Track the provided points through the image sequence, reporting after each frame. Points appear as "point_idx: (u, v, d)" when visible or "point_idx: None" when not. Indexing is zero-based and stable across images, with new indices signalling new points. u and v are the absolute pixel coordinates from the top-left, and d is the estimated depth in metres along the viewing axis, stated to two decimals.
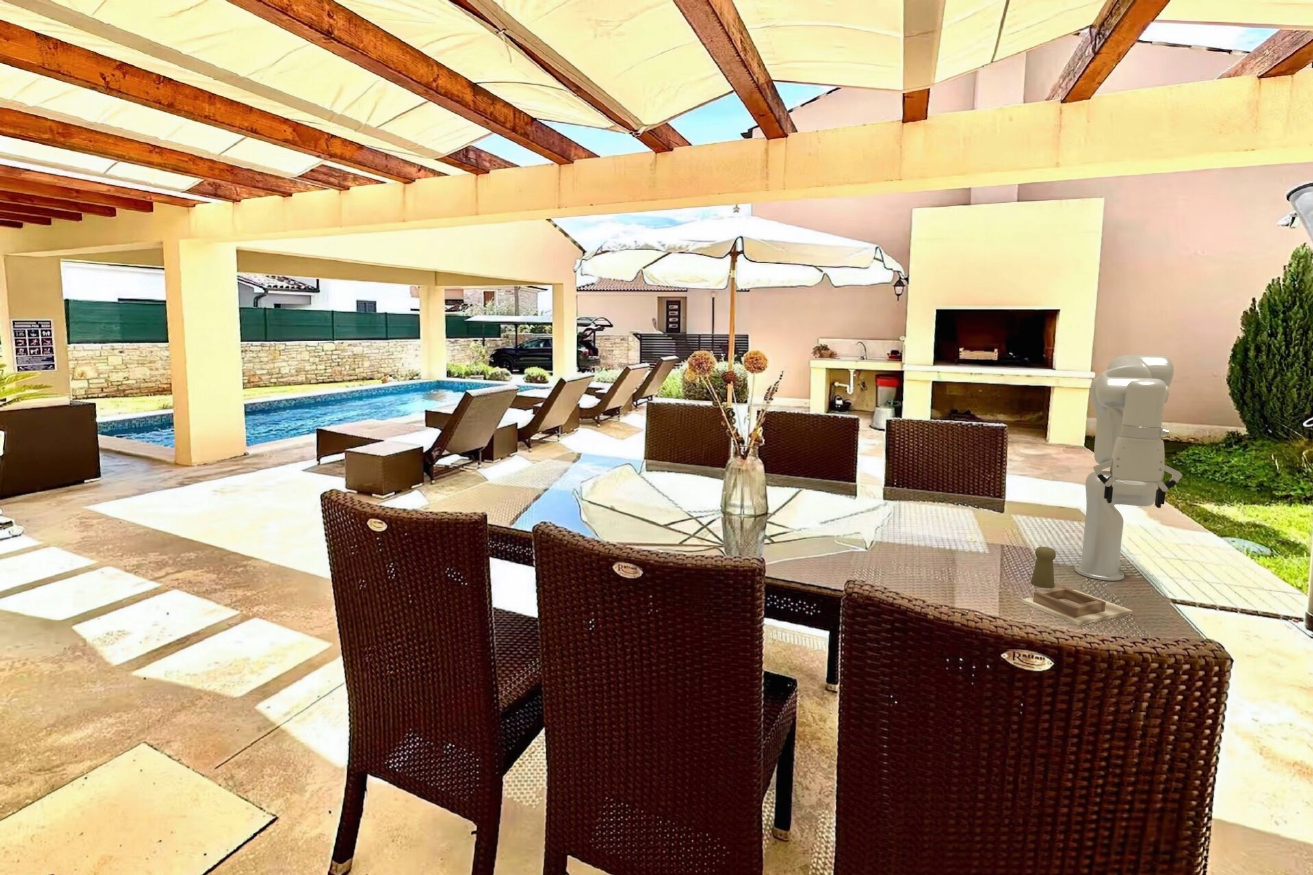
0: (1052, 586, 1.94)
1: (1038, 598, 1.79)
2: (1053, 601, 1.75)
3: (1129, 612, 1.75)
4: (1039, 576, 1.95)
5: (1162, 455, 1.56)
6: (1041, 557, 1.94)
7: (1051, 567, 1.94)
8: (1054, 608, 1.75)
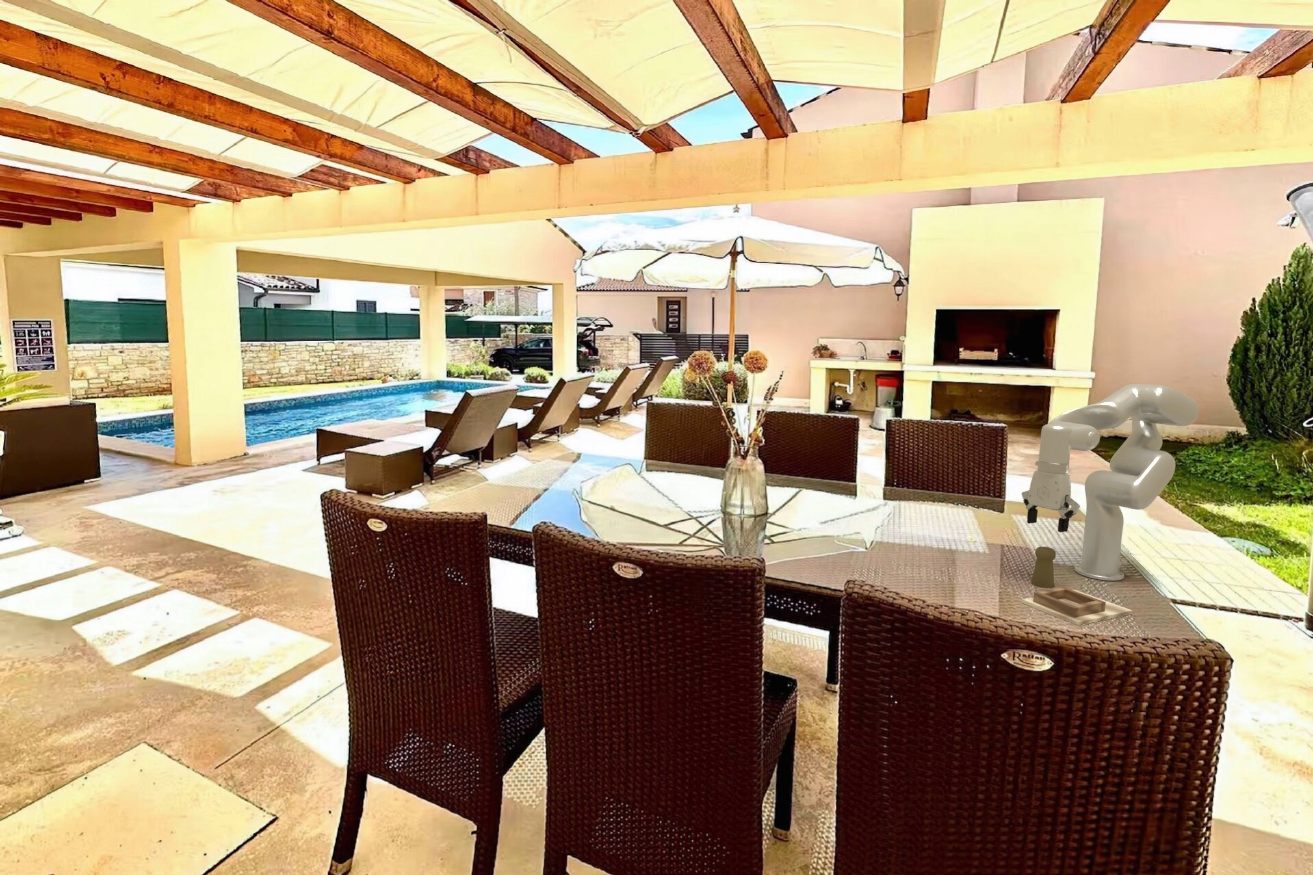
0: (1052, 586, 1.94)
1: (1038, 598, 1.79)
2: (1053, 601, 1.75)
3: (1129, 612, 1.75)
4: (1039, 576, 1.95)
5: None
6: (1041, 557, 1.94)
7: (1051, 567, 1.94)
8: (1054, 608, 1.75)
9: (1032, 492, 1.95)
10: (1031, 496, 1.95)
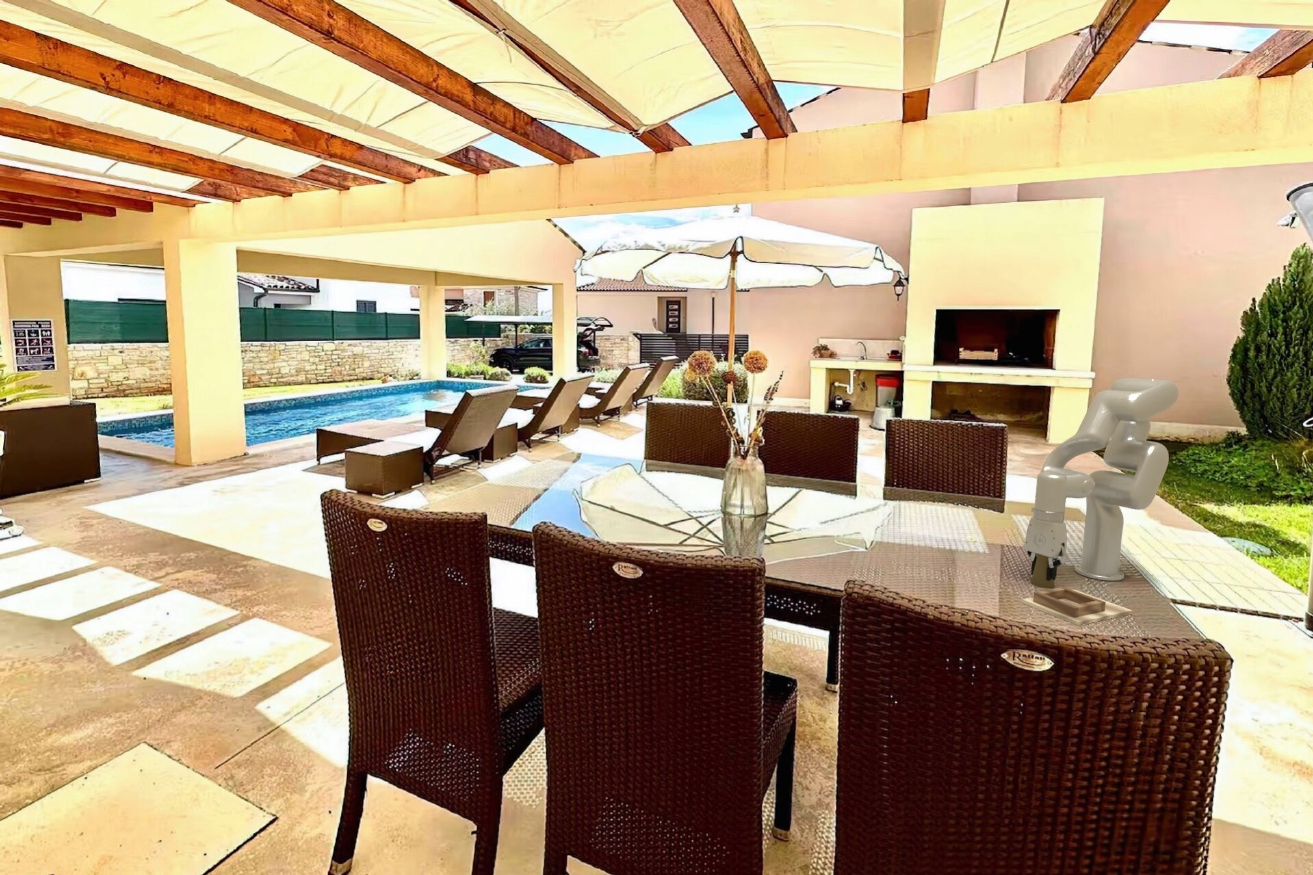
0: (1052, 586, 1.94)
1: (1038, 598, 1.79)
2: (1053, 601, 1.75)
3: (1129, 612, 1.75)
4: (1039, 576, 1.95)
5: None
6: (1041, 557, 1.94)
7: None
8: (1054, 608, 1.75)
9: (1029, 538, 1.97)
10: (1028, 542, 1.97)
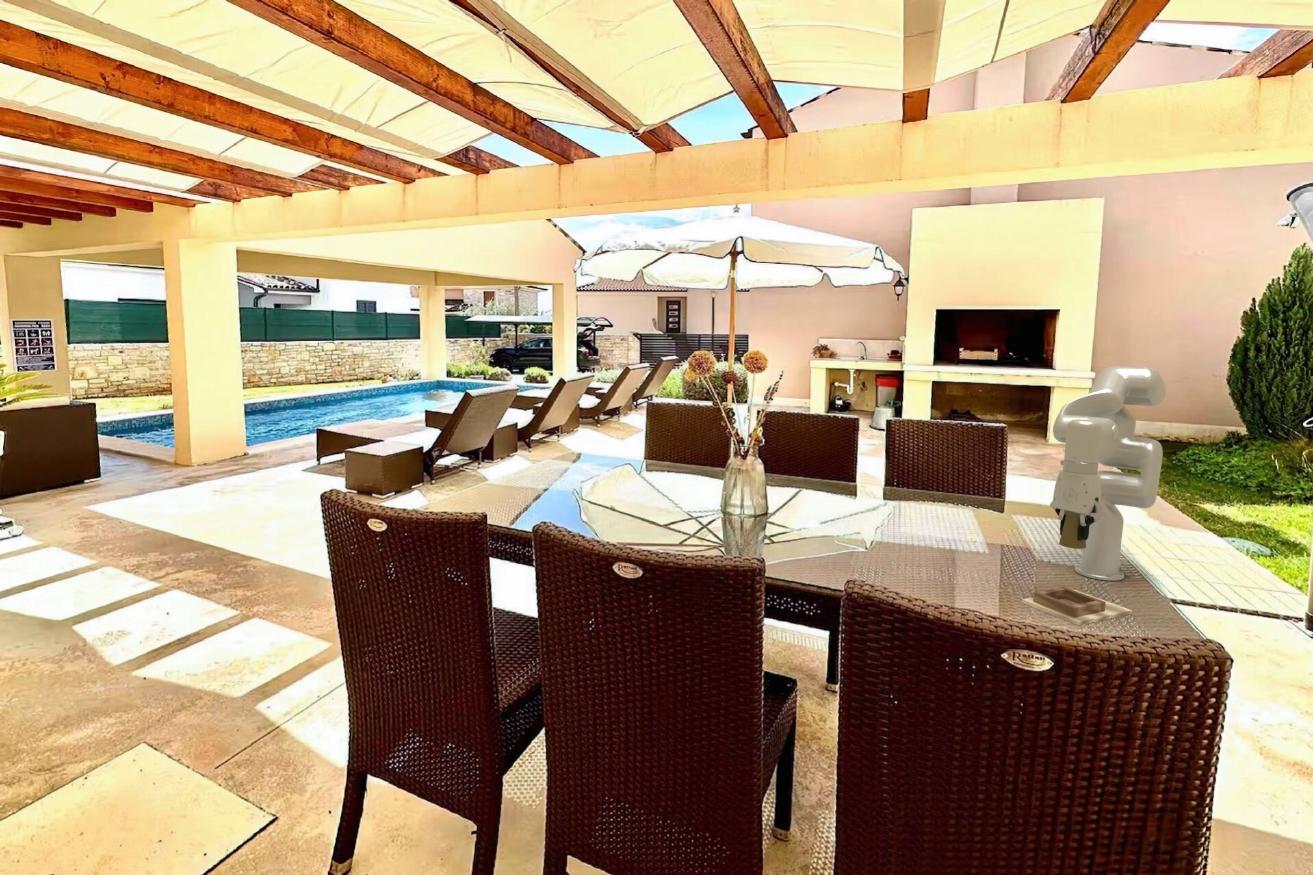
0: (1083, 547, 1.74)
1: (1038, 598, 1.79)
2: (1053, 601, 1.75)
3: (1129, 612, 1.75)
4: (1068, 536, 1.74)
5: None
6: (1071, 514, 1.74)
7: None
8: (1054, 608, 1.75)
9: (1057, 494, 1.77)
10: (1056, 499, 1.77)
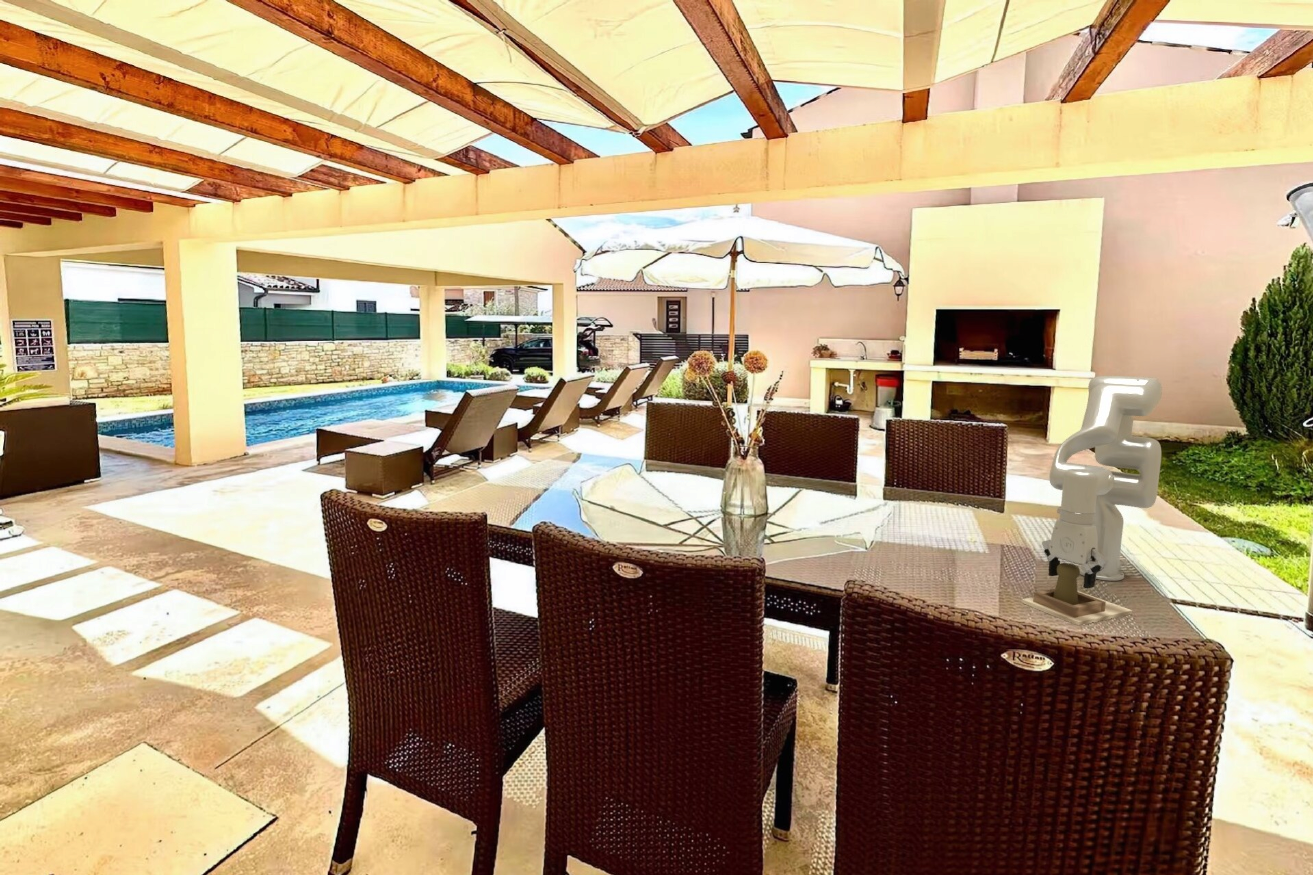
0: None
1: (1038, 598, 1.79)
2: (1053, 601, 1.75)
3: (1129, 612, 1.75)
4: (1061, 596, 1.77)
5: None
6: (1063, 575, 1.76)
7: (1074, 586, 1.76)
8: (1054, 608, 1.75)
9: (1054, 543, 1.78)
10: (1053, 547, 1.78)
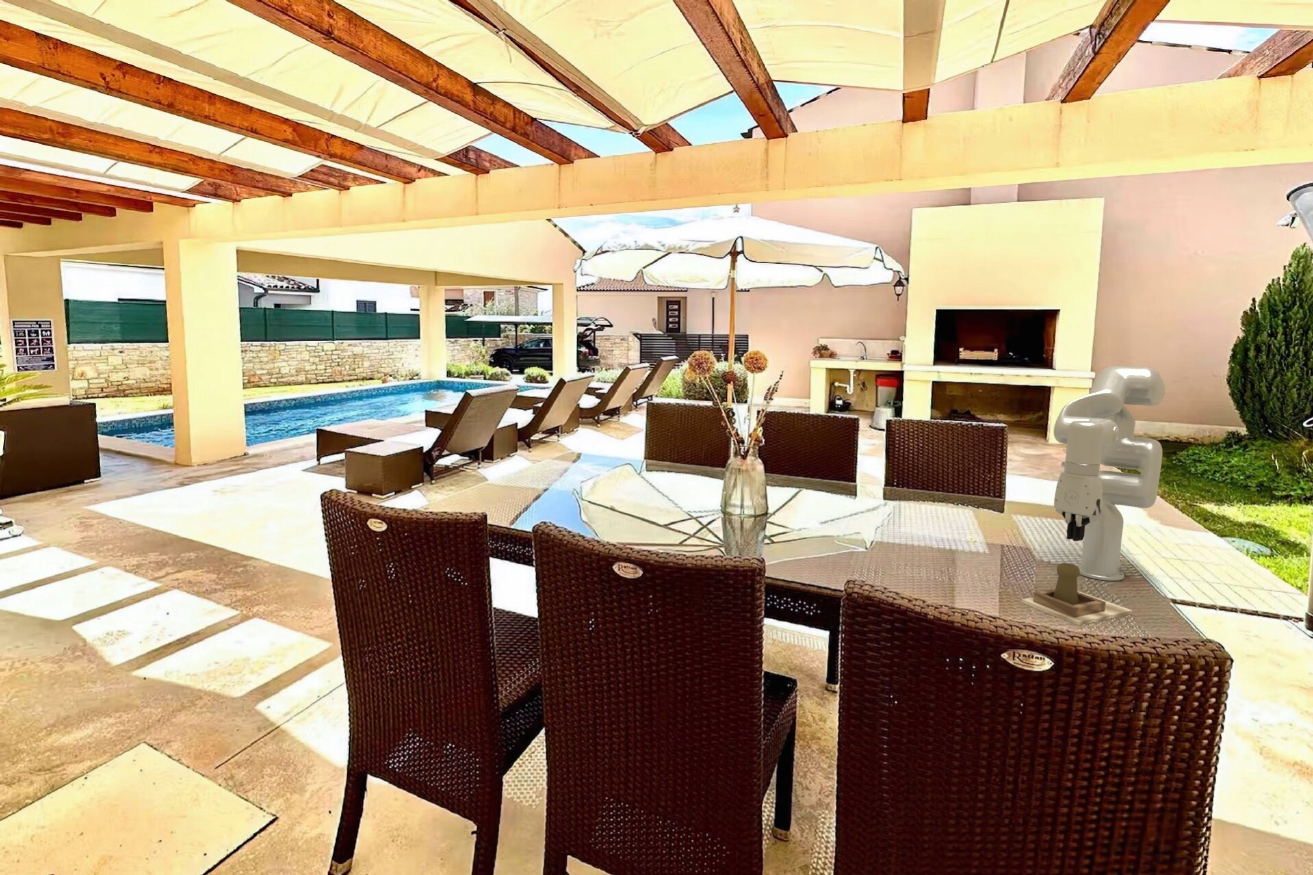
0: None
1: (1038, 598, 1.79)
2: (1053, 601, 1.75)
3: (1129, 612, 1.75)
4: (1061, 596, 1.77)
5: None
6: (1063, 575, 1.76)
7: (1074, 586, 1.76)
8: (1054, 608, 1.75)
9: (1058, 496, 1.76)
10: (1057, 500, 1.76)
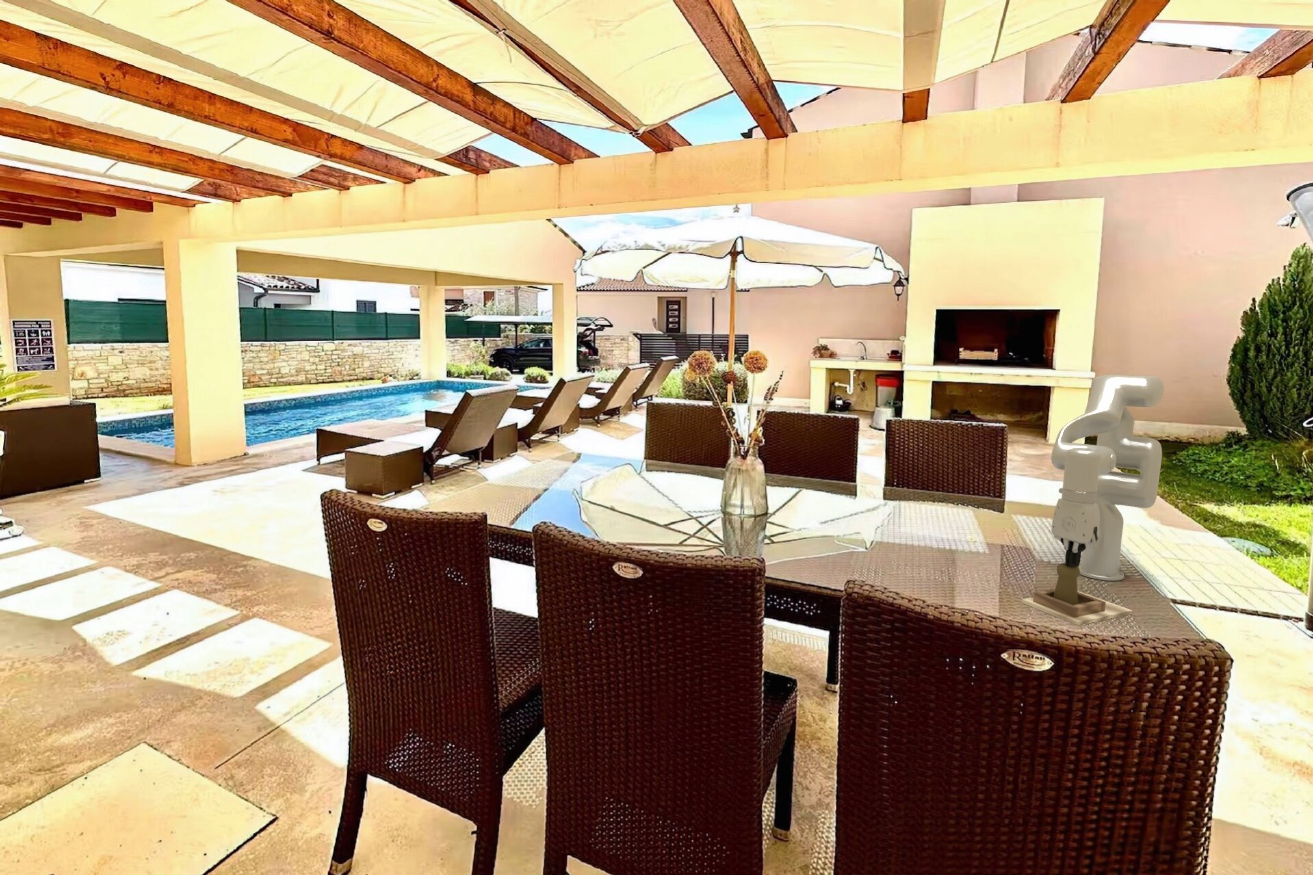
0: None
1: (1038, 598, 1.79)
2: (1053, 601, 1.75)
3: (1129, 612, 1.75)
4: (1061, 596, 1.77)
5: None
6: (1063, 575, 1.76)
7: (1074, 586, 1.76)
8: (1054, 608, 1.75)
9: (1056, 522, 1.77)
10: (1055, 527, 1.77)
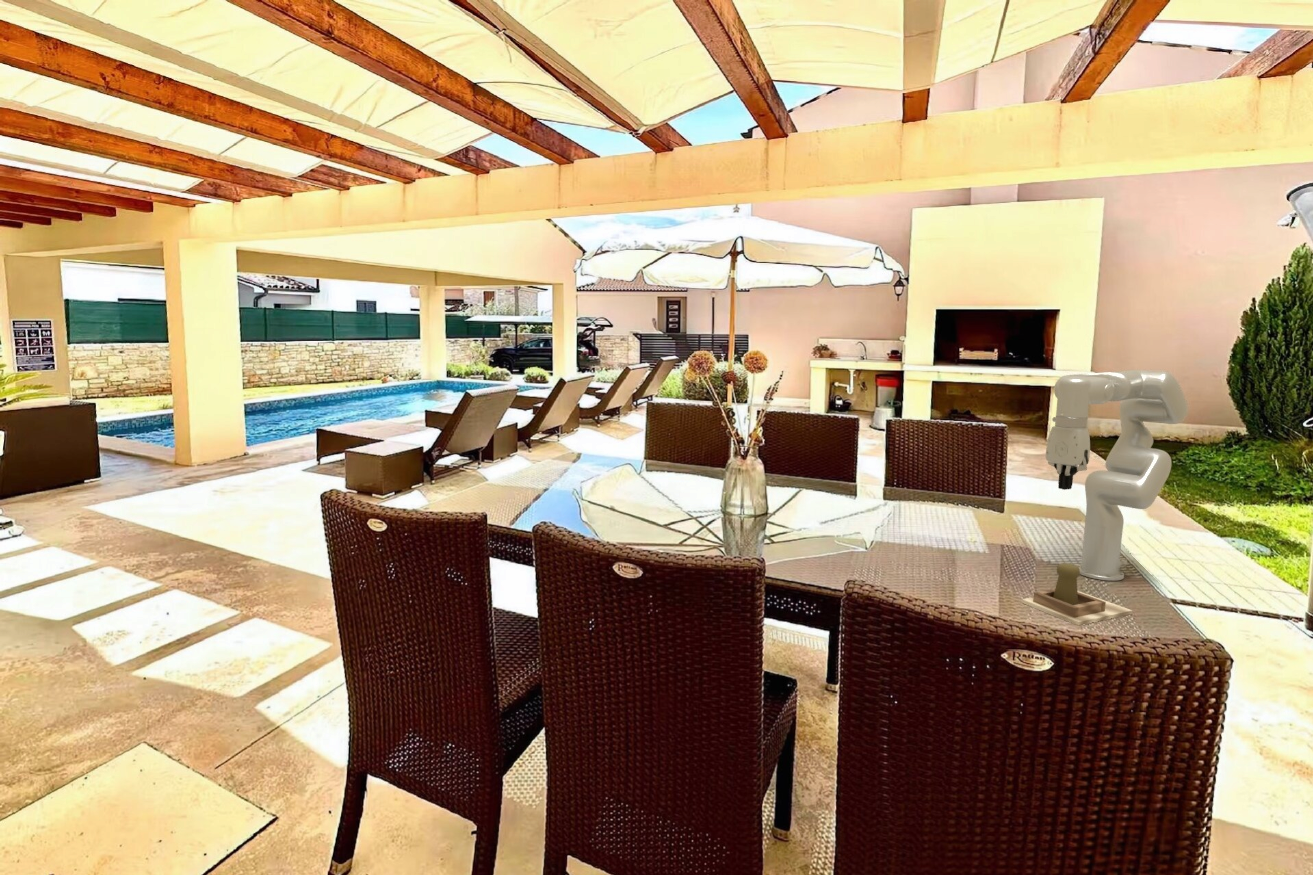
0: None
1: (1038, 598, 1.79)
2: (1053, 601, 1.75)
3: (1129, 612, 1.75)
4: (1061, 596, 1.77)
5: None
6: (1063, 575, 1.76)
7: (1074, 586, 1.76)
8: (1054, 608, 1.75)
9: (1050, 449, 1.90)
10: (1049, 453, 1.90)
